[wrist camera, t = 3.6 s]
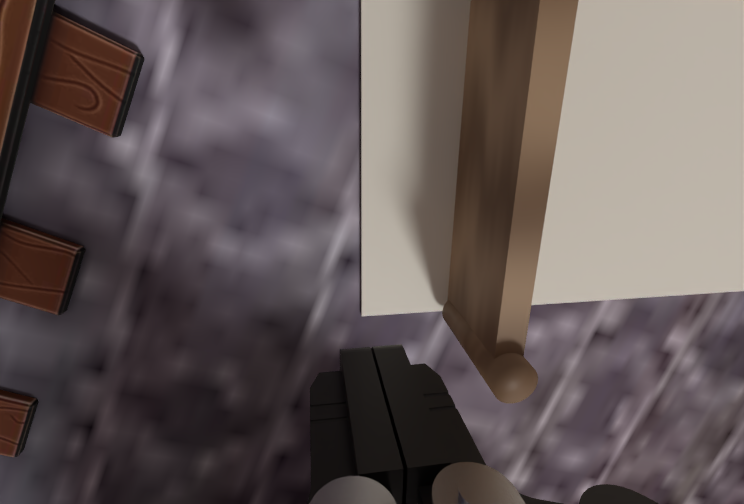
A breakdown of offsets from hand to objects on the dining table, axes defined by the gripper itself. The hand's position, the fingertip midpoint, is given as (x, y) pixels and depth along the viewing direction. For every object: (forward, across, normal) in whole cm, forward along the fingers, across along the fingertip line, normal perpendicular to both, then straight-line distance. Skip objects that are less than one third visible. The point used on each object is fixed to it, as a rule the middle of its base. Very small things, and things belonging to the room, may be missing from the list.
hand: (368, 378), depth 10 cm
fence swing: (+10, -6, -3) cm, 12 cm away
